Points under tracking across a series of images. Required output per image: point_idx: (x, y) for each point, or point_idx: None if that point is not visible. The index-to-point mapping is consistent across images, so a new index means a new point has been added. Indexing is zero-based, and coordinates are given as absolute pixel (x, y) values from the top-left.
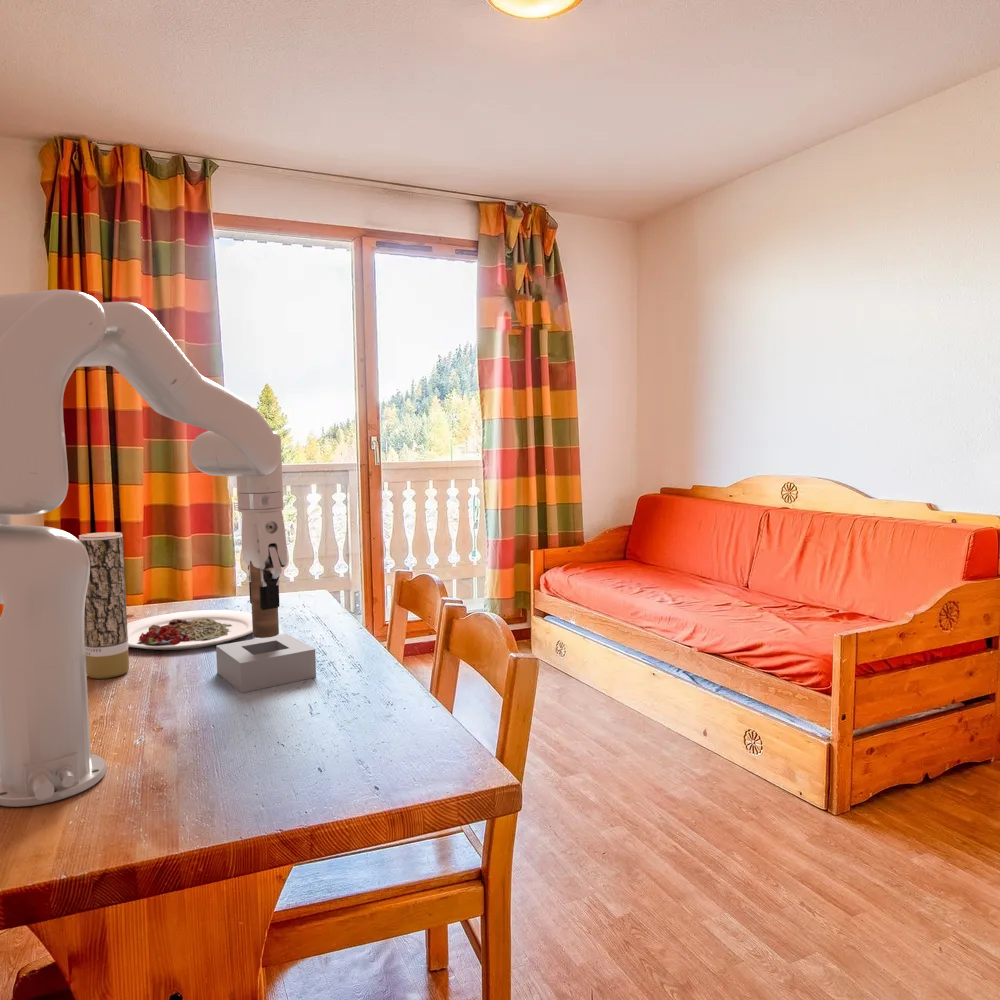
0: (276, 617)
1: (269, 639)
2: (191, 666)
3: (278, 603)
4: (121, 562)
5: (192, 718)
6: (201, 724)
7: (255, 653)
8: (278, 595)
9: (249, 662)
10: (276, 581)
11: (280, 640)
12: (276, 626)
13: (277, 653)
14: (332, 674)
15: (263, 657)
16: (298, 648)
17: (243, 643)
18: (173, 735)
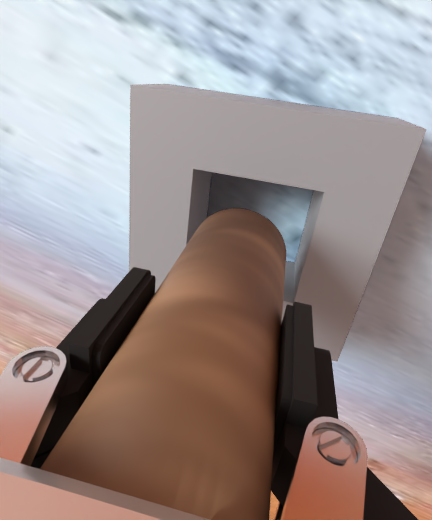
0: (277, 268)
1: (167, 179)
2: (74, 282)
3: (310, 317)
4: None
5: (378, 423)
6: (422, 431)
7: (194, 227)
8: (311, 348)
9: (344, 340)
10: (390, 500)
11: (206, 159)
12: (279, 251)
13: (343, 253)
14: (425, 56)
15: (344, 301)
16: (356, 172)
17: (156, 258)
18: (423, 469)
